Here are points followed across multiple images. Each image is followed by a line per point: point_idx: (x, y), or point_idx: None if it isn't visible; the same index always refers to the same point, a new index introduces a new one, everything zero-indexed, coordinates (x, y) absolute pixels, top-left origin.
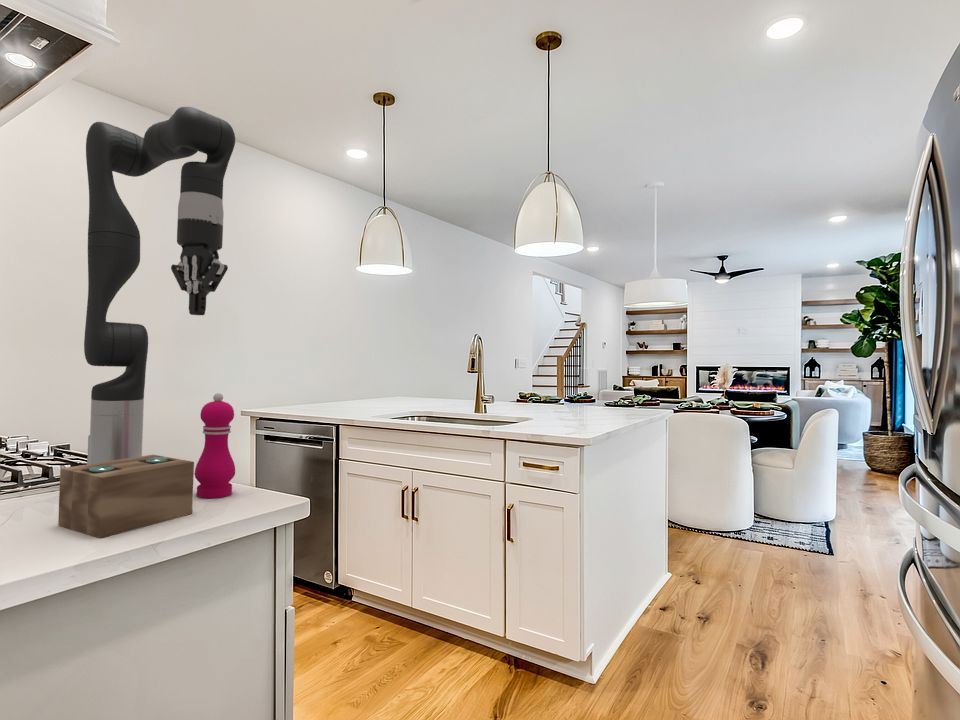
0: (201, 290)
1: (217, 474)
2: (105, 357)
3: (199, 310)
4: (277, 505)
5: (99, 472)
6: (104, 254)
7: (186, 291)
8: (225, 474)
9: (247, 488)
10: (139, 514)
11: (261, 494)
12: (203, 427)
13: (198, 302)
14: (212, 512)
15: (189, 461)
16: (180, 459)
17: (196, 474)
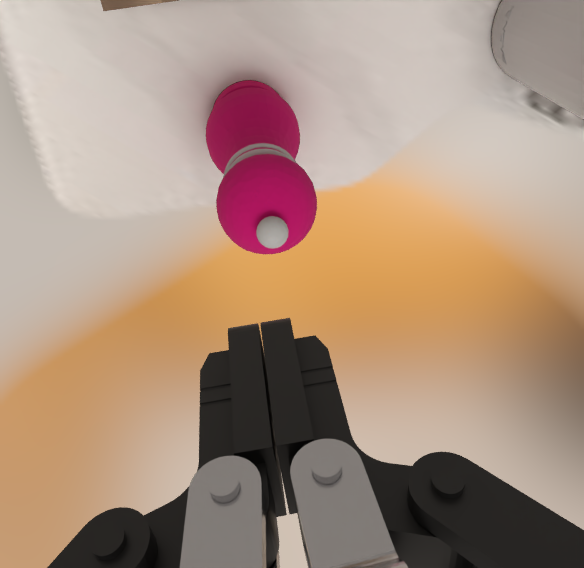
0: (172, 518)
1: (210, 119)
2: None
3: (206, 366)
4: (68, 159)
5: None
6: None
7: (407, 467)
8: (206, 137)
9: None
10: None
11: (178, 186)
12: (272, 150)
13: (211, 410)
14: (103, 30)
15: (117, 4)
16: (163, 1)
17: (257, 89)
